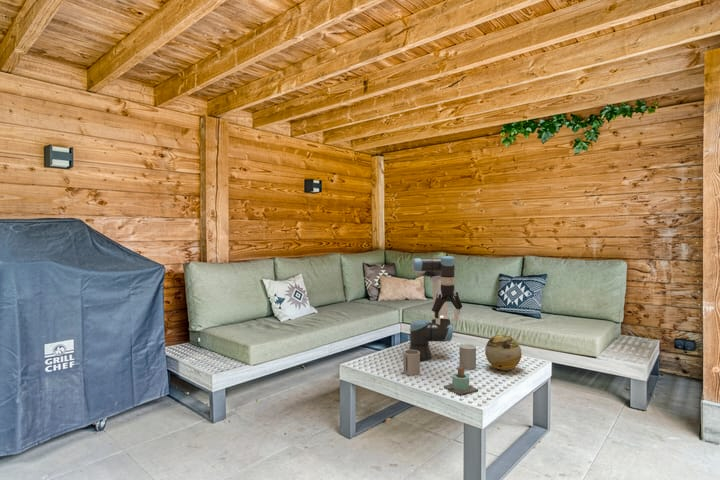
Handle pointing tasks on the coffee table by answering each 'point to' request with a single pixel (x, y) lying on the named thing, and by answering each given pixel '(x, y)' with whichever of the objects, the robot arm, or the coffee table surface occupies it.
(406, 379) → the coffee table surface
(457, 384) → the collar
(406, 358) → the cup
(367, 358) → the coffee table surface
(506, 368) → the decorative sphere
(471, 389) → the post stand
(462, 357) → the beige speckled cylinder
